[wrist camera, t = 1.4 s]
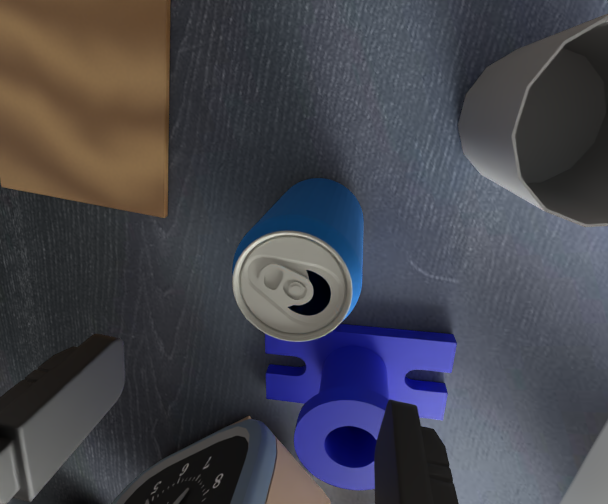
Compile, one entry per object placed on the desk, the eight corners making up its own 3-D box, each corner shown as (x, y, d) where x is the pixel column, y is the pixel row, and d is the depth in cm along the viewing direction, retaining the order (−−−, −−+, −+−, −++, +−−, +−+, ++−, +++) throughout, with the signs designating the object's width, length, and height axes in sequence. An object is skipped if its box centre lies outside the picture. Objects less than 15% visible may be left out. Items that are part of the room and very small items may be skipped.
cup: (528, 208, 26) (617, 263, 17) (431, 139, 26) (468, 157, 16) (634, 96, 23) (812, 88, 14) (526, 14, 23) (638, -50, 13)
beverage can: (339, 273, 30) (323, 370, 19) (264, 237, 30) (205, 313, 19) (379, 200, 28) (388, 262, 17) (298, 160, 28) (252, 196, 16)
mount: (453, 334, 30) (484, 416, 22) (440, 409, 33) (464, 506, 25) (268, 317, 32) (235, 386, 24) (269, 389, 35) (240, 473, 27)
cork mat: (-26, -48, 26) (-34, -51, 25) (171, -21, 25) (166, -25, 24) (7, 185, 32) (1, 187, 31) (167, 216, 31) (164, 218, 30)
